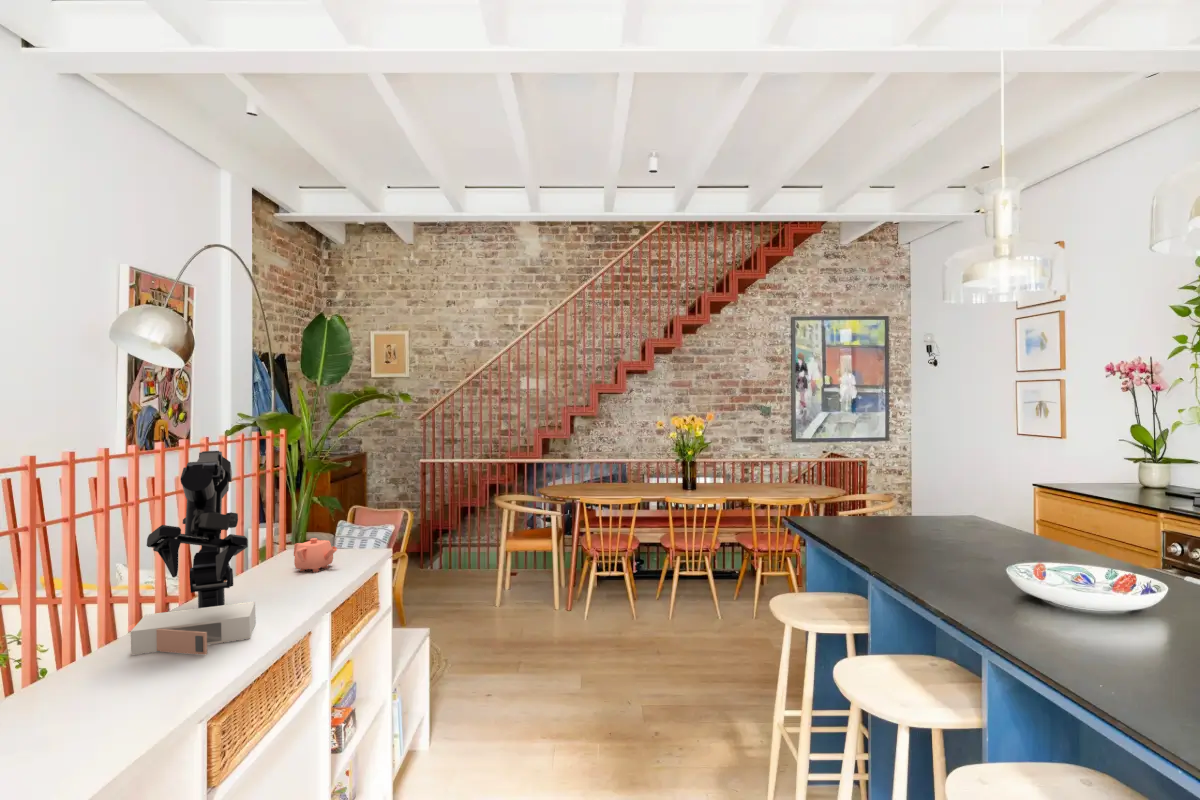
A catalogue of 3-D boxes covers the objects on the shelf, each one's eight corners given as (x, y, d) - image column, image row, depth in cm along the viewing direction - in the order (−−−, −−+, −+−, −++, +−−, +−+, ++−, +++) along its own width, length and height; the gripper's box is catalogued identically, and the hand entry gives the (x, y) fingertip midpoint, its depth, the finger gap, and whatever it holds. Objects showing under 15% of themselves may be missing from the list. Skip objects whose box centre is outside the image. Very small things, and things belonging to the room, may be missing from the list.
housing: (146, 636, 148) (145, 614, 148) (255, 622, 157) (255, 601, 157) (131, 655, 137) (130, 631, 137) (249, 638, 145) (249, 616, 145)
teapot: (337, 570, 205) (337, 539, 205) (295, 576, 199) (295, 544, 199) (333, 562, 215) (332, 533, 215) (293, 567, 209) (292, 537, 209)
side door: (159, 650, 139) (158, 628, 139) (207, 653, 136) (206, 632, 136) (155, 651, 138) (155, 630, 138) (203, 655, 135) (203, 633, 135)
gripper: (176, 488, 137) (170, 559, 129) (261, 503, 152) (262, 568, 144) (148, 510, 142) (141, 580, 134) (234, 523, 156) (233, 587, 148)
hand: (197, 578), depth 140 cm, fingers open, 9 cm apart
